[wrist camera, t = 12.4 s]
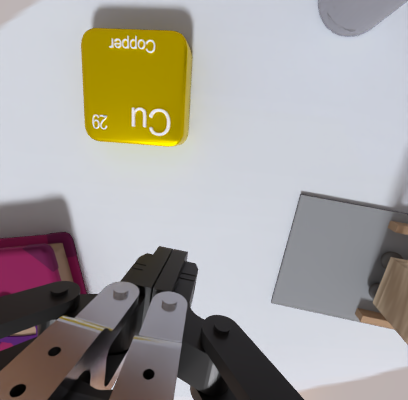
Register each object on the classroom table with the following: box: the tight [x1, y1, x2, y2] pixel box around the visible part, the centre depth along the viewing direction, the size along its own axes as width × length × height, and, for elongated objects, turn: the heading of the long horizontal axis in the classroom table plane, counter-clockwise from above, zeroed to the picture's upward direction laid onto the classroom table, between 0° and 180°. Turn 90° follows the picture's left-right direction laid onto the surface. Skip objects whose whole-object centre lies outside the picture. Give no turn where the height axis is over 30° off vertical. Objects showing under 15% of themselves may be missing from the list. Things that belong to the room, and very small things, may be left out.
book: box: [0, 232, 87, 351], centre depth 48 cm, size 21×28×8 cm
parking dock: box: [271, 194, 408, 330], centre depth 40 cm, size 28×20×4 cm
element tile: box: [81, 28, 192, 147], centre depth 37 cm, size 15×15×5 cm
